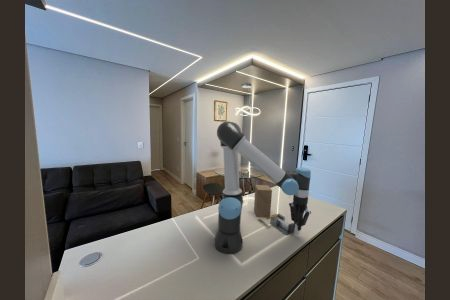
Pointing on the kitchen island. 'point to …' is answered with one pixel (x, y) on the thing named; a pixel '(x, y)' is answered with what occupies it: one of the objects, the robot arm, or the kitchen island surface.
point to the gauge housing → (275, 224)
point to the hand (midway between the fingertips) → (296, 234)
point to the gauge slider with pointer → (284, 224)
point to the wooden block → (262, 200)
